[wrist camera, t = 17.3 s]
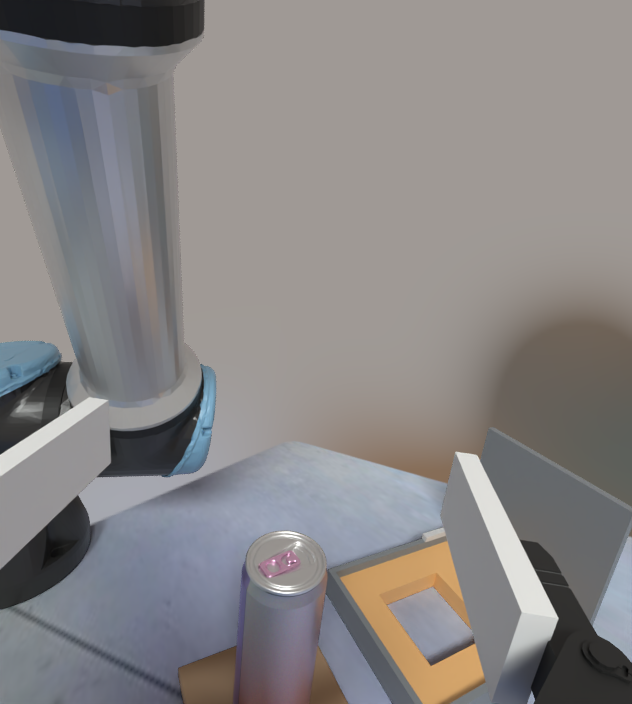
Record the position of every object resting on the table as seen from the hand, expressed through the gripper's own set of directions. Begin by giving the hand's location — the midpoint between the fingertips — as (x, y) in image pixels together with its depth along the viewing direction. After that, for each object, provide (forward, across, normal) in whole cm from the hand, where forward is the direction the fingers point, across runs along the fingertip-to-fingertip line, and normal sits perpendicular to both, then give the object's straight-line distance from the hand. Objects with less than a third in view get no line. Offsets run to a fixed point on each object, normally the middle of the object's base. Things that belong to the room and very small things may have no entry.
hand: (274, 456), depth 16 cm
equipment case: (+21, +16, -30) cm, 40 cm away
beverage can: (+10, 0, -29) cm, 31 cm away
